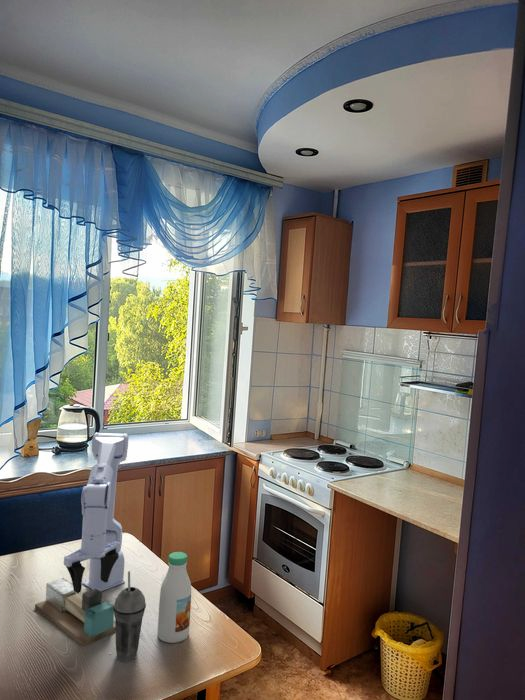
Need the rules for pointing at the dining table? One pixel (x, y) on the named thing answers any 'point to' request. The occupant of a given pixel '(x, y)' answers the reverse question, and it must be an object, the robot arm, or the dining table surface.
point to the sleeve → (58, 593)
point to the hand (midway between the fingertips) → (91, 586)
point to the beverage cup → (128, 621)
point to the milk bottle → (175, 601)
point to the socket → (98, 619)
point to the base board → (69, 623)
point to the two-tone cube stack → (82, 602)
